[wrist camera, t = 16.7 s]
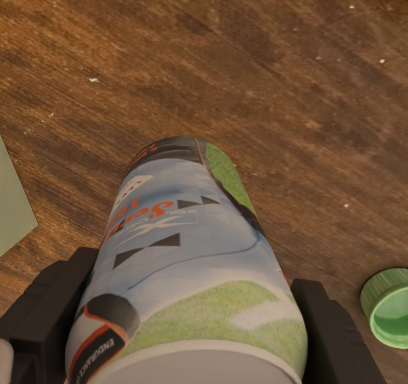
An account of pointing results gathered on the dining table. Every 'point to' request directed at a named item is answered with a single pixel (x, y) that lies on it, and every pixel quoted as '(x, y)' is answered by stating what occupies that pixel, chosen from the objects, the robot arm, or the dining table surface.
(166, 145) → the beverage can
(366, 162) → the dining table surface
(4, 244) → the case
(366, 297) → the ramekin
